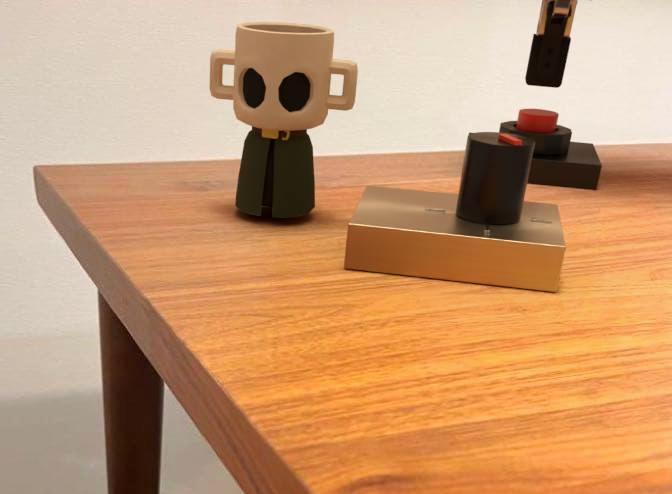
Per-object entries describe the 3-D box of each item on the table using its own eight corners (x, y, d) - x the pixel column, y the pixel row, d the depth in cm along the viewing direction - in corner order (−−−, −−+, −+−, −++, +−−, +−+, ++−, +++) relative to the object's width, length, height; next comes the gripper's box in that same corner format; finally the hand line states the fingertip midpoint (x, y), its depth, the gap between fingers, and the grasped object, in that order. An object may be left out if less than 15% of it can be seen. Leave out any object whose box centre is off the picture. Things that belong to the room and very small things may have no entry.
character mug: (194, 218, 74) (197, 25, 66) (218, 196, 79) (223, 17, 72) (336, 234, 72) (354, 38, 65) (349, 210, 78) (367, 28, 71)
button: (553, 130, 92) (557, 110, 91) (555, 137, 89) (559, 117, 88) (515, 127, 92) (518, 107, 91) (515, 134, 89) (519, 113, 88)
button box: (587, 167, 96) (597, 123, 94) (596, 190, 87) (607, 143, 85) (465, 155, 97) (472, 112, 95) (462, 177, 89) (469, 131, 87)
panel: (548, 245, 72) (558, 201, 70) (556, 292, 63) (567, 244, 61) (362, 225, 74) (367, 182, 72) (343, 268, 65) (348, 221, 63)
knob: (444, 208, 68) (456, 127, 65) (500, 206, 69) (514, 126, 66) (474, 225, 64) (488, 141, 61) (532, 223, 66) (549, 140, 63)
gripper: (651, -167, 72) (590, 102, 82) (629, -155, 84) (579, 77, 94) (548, -172, 73) (500, 94, 83) (541, -160, 85) (500, 70, 95)
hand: (542, 84), depth 88 cm, fingers closed
